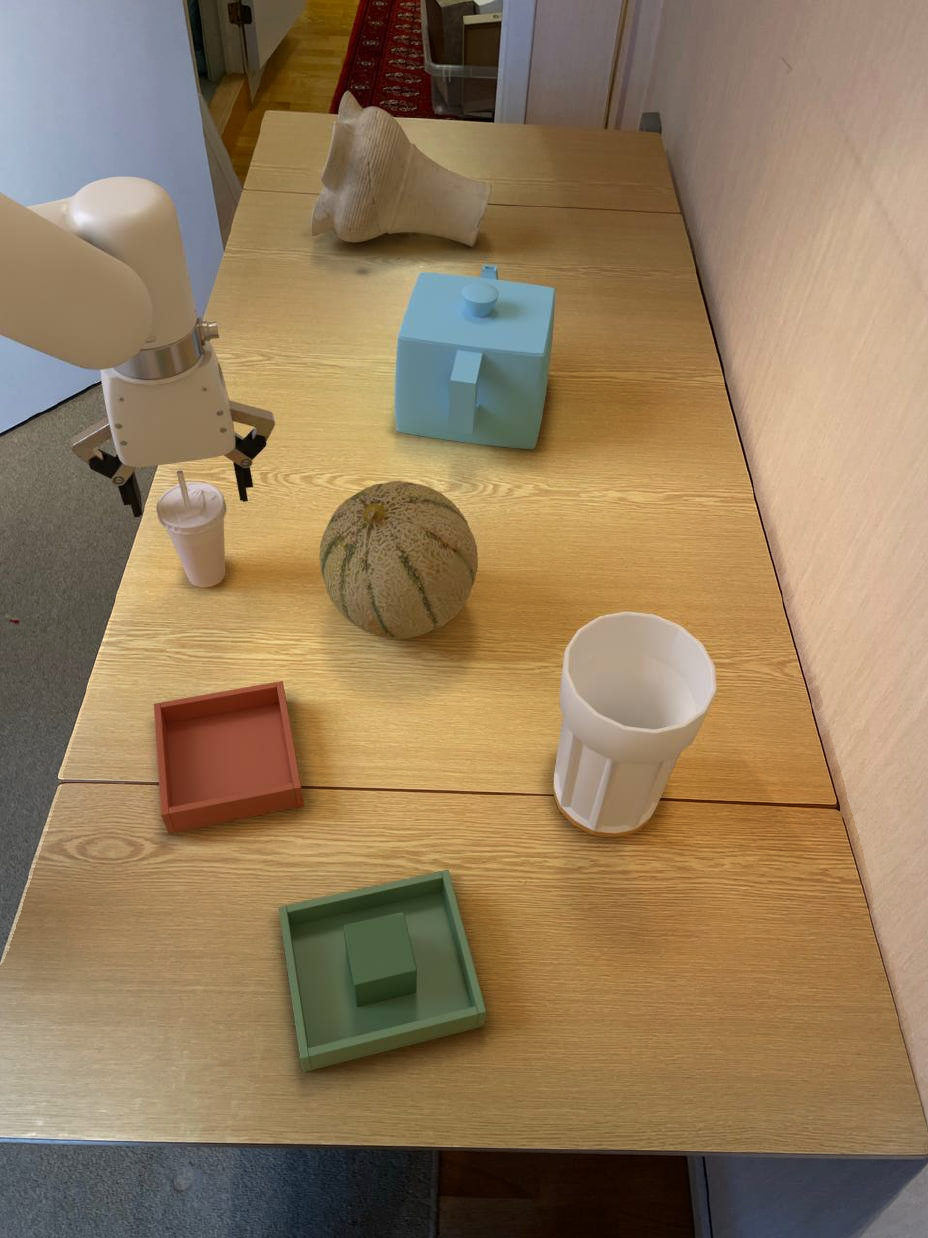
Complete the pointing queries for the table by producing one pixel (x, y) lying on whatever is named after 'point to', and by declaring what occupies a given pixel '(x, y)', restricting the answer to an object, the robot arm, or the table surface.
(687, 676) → the cup
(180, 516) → the smoothie
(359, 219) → the vase
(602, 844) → the table surface
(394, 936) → the green block
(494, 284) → the container
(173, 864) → the table surface
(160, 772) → the terracotta tray
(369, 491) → the cantaloupe
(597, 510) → the table surface
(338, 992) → the green tray
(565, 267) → the table surface
